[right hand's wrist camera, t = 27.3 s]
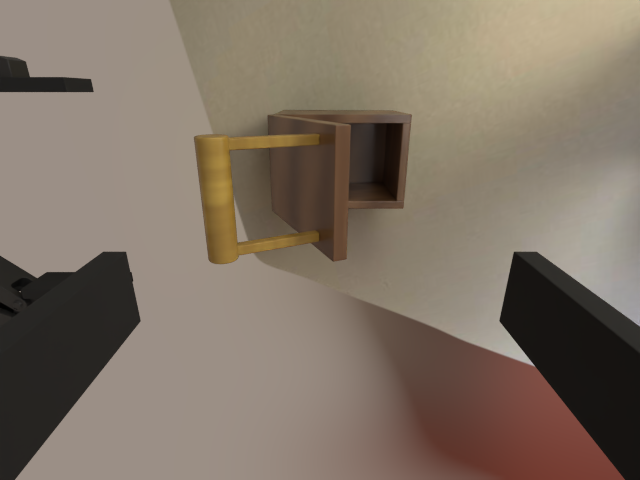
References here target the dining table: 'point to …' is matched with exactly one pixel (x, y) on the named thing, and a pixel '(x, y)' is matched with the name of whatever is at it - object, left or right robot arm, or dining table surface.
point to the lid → (281, 186)
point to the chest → (372, 154)
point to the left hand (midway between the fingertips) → (104, 195)
